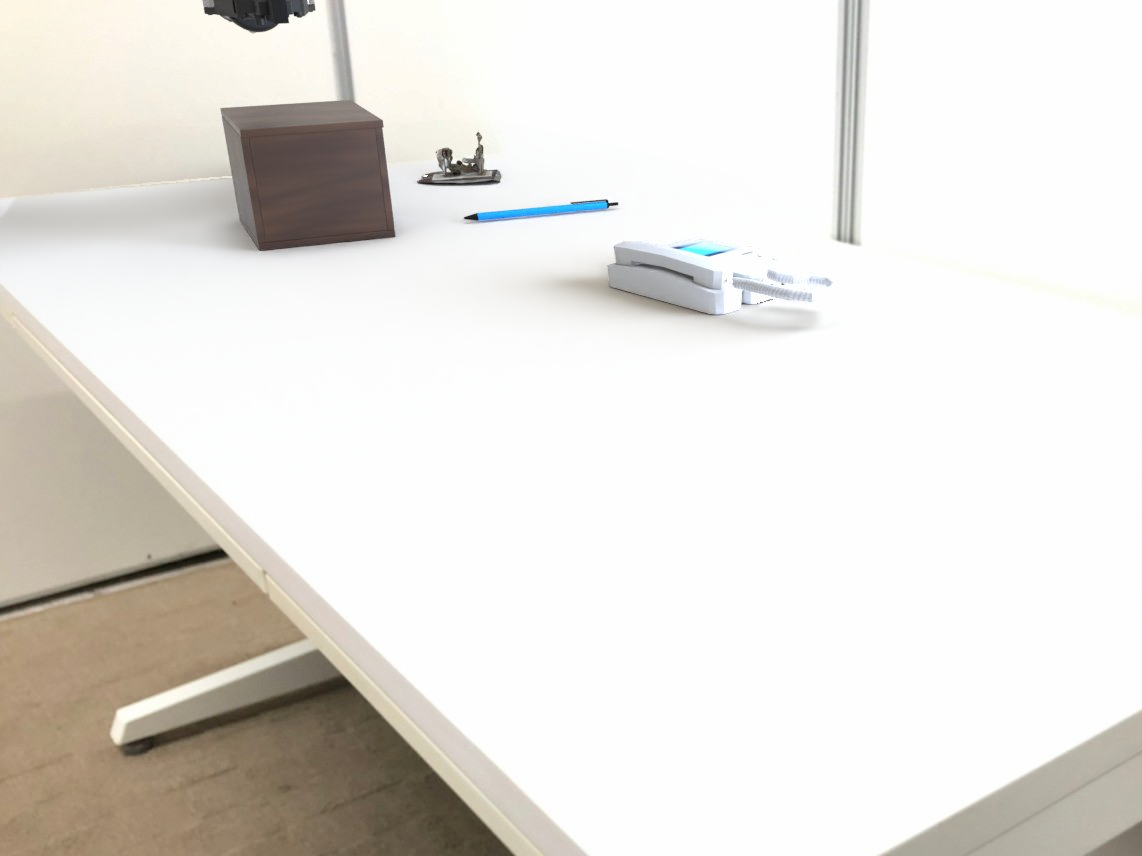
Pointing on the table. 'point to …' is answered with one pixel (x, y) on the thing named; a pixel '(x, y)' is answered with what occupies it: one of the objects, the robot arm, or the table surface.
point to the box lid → (299, 118)
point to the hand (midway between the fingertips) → (280, 10)
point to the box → (311, 187)
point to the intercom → (714, 275)
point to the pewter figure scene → (461, 168)
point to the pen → (542, 210)
